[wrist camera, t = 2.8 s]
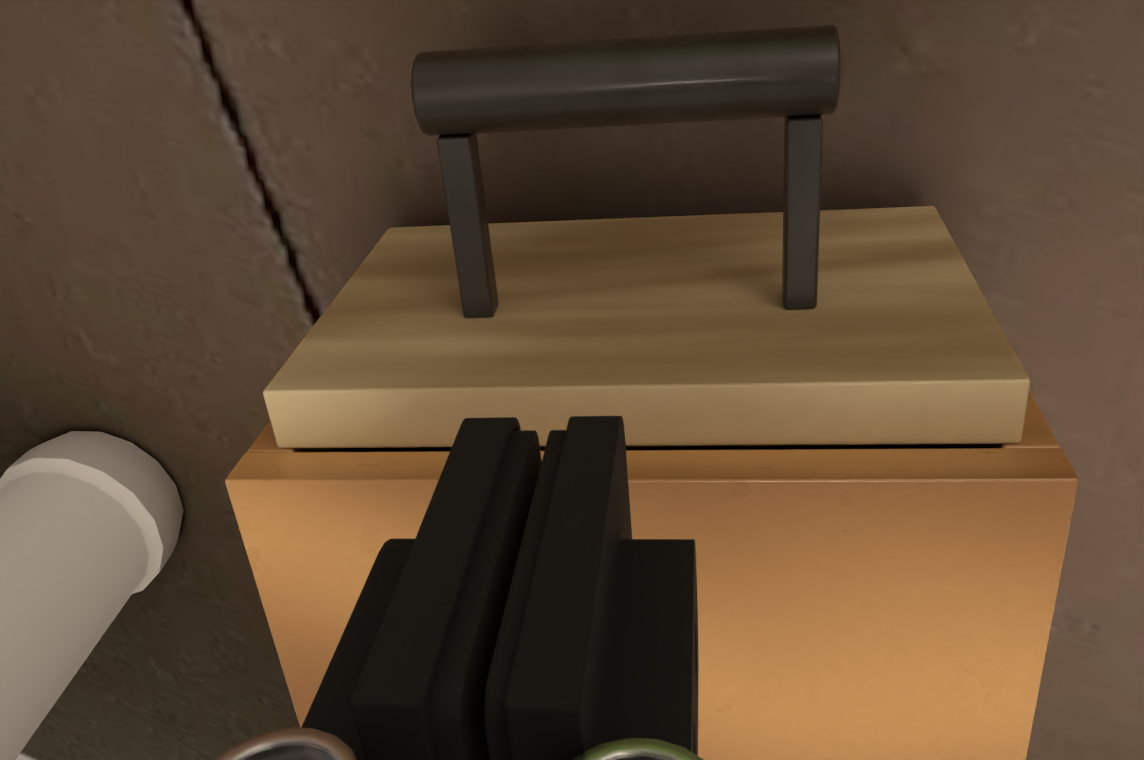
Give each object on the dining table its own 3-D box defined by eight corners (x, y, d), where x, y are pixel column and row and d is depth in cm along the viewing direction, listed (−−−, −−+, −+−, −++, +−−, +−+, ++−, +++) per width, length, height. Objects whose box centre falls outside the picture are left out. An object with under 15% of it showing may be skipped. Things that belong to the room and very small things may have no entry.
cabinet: (384, 259, 26) (223, 480, 17) (949, 238, 24) (1080, 479, 15) (464, 680, 33) (378, 983, 24) (904, 693, 31) (975, 1029, 22)
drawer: (349, 13, 22) (184, 107, 15) (956, -31, 20) (1080, 53, 13) (465, 648, 31) (395, 886, 24) (893, 657, 29) (949, 920, 22)
